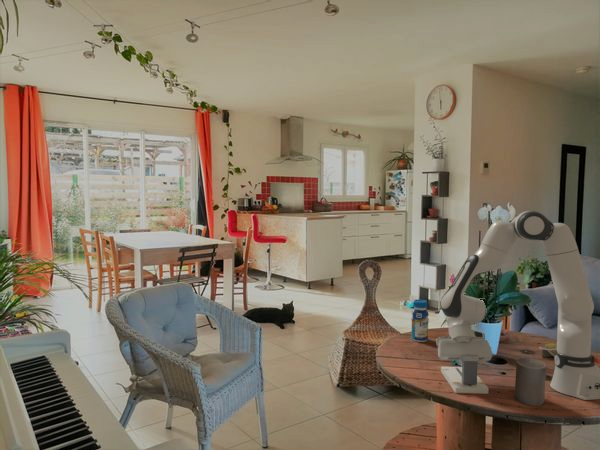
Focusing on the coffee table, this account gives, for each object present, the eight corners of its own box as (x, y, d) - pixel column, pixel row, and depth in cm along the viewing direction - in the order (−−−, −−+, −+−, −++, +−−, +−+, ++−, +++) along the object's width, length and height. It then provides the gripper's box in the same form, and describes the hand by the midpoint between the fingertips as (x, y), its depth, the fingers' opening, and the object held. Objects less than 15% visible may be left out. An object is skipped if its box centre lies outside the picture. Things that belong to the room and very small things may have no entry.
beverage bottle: (417, 336, 240) (418, 298, 239) (431, 340, 234) (432, 301, 233) (407, 339, 235) (408, 300, 234) (421, 343, 229) (422, 303, 227)
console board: (470, 371, 193) (470, 366, 193) (488, 393, 172) (488, 388, 172) (440, 371, 193) (440, 366, 193) (455, 392, 172) (455, 387, 172)
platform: (577, 360, 207) (578, 346, 207) (545, 364, 202) (545, 350, 202) (555, 351, 219) (556, 338, 218) (524, 355, 214) (525, 341, 213)
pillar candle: (509, 394, 171) (510, 354, 170) (534, 393, 172) (536, 354, 171) (523, 406, 162) (525, 365, 160) (550, 405, 162) (552, 364, 161)
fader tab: (475, 382, 176) (476, 354, 175) (477, 384, 174) (478, 356, 173) (460, 382, 176) (461, 354, 175) (462, 384, 174) (463, 356, 173)
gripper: (436, 332, 184) (442, 366, 174) (488, 333, 183) (497, 367, 174) (433, 340, 188) (439, 373, 179) (484, 341, 187) (492, 374, 178)
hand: (468, 370), depth 176 cm, fingers closed, pressing on fader tab
